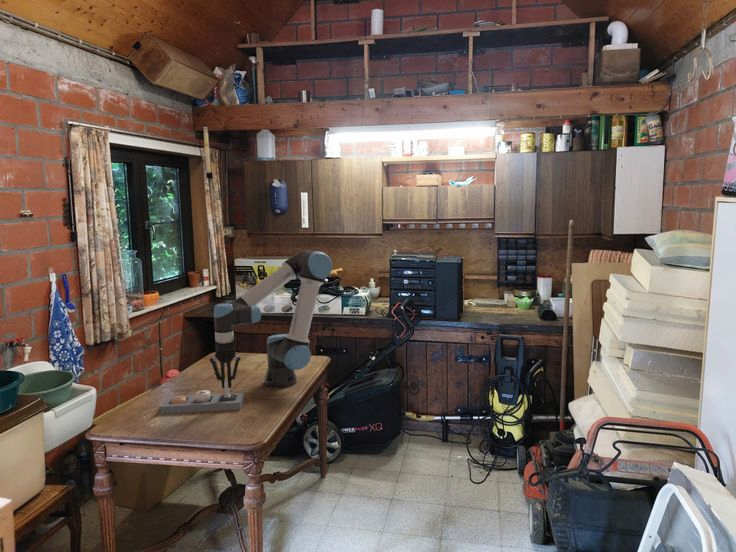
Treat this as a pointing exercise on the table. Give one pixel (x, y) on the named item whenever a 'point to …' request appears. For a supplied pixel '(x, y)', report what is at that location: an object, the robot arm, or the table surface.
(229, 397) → the button black
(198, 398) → the button white
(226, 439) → the table surface
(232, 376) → the robot arm
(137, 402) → the table surface
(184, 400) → the button terracotta
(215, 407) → the panel
